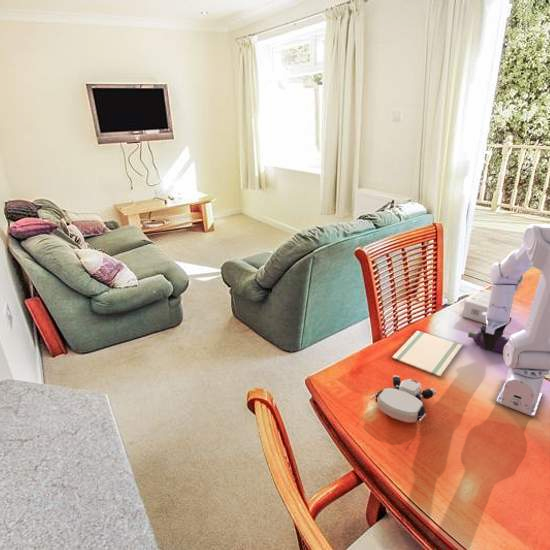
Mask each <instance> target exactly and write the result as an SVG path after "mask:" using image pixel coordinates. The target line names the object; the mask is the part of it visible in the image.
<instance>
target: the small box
mask: <svg viewBox="0 0 550 550" xmlns="http://www.w3.org/2000/svg"><path fill="white" fill-rule="evenodd" d="M490 293H491V290H489V289H485V288H478V289H477V290H476V291H475V292H474V293H473V294H471V295H470V296H468V298H467V299H466V300H465V301H464V304H463V305H464V306H463V312H462V317H463V318H466V319H468V320H472V321H476V322H479V323H481V324H484V325H487V323H486V318H485V317H483V316H482V313H483V312H487V309H488V304H489V299H490Z"/></svg>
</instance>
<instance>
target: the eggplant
mask: <svg viewBox="0 0 550 550" xmlns="http://www.w3.org/2000/svg"><path fill="white" fill-rule="evenodd" d="M467 338H471V339H472V340H473V343H475V344H476V345H477V346H480V347H483V348H484V339H483V335H482V333H481V331H480V330H477V331H475V332H471V331H469V332H468V335H467ZM509 339H510V338H508V337H505V336H503V335H502V336H501V337H500V338H499V339H498V341H497V343H496V345H495V347H494V349H493V351H495V352H498V353H501V354H503V350H504V346H505V345H506V343H507V342H508V341H509Z"/></svg>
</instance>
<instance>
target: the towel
mask: <svg viewBox="0 0 550 550" xmlns="http://www.w3.org/2000/svg"><path fill="white" fill-rule="evenodd" d="M462 347H463V344H460V343H457V342H454V341H450V340H448V339H445V338H442V337H439V336H436V335H432V334H430V333H427V332H424V331H421V330H416V331H415V332H414V333H413V334H412V335H411V337H409V338H408V339H407V340H406V342H405V343H404V344H402V346H401V347H400V348H399V349H398V350H397V351H396V352H395V353H394V354H393V356H392V357H391V358H392V359H393V360H396V361H398V362H400V363H403V364H406V365H409V366H411V367H414V368H416V369H418V370H422V371H424V372H427V373H429V374H431V375H434V376H437V377H440V378H441V376H442V375H443V373H445V371H446V369H447V368H448V367H449V365H450V363H451V362H452V361H453V360H454V359H455V357H456V355H457V354H458V353H459V351H460V350H461V349H462Z"/></svg>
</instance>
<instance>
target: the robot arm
mask: <svg viewBox="0 0 550 550" xmlns="http://www.w3.org/2000/svg"><path fill="white" fill-rule="evenodd" d="M522 243H523V244H522V245H521V247H520V248H519V249H514V250H512V251H511V252H510V253H509V254H508V255H507V257H505V259H503V260H502V261H501V262H499V263H498V262H494V263H493V264H492V266H491V268H490V275H489V276H490V281H491V289H490V291H491V293H490V299H489V304H488V309H487V312H483V313H482V316H483V317H485V318H486V323H487V324H486V325H481V326H480V328H479V331H481V333H482V335H483V339H484V347H483V348H484V349H485V350H487V351H491V352H493V351H494V350H493V349H494V347H495V345H496V343H497V341H498V339H499V338H500V337H501V336H502V337H503V335H504V331H505V329H506V327H507V326H508V325H509V324H510V323H511V321H512V319H513V318H512V317H511V313H512V308H513V304H514V298H515V294H516V292H517V291H518V290H519V287H520V285H521V284H522V282H523V279H524V275H525V274H526V273H527V272H528V271H529V270H530V269H531V268H532V267H533V268H535V269H537V270H539V271H541V273H540V277H539V280H538V283H537V287H536V290H535V292H534V296H533V300H532V302H531V304H530V308H529V312H528V314H527V318H526V321H525V324H524V327H523V329H522V330H520V331H518V332H515V333H513V334H511V335H510V336H509V338H508V339H509V341H508V342H507V343H506V345H505V346H504V350H503V353H502V355H503V357H502V358H503V362H504V364H505V365H506V367H507V368H508V369H507V373H506V377H505V381H504V384H503V386H502V388H501V390H500V392H499V394H498V396H497V397H496V403H498V404H499V405H503V406H505V407H507V408H510V409H512V410H515V411H517V412H520V413H523V414H525V415H527V416H530V417H535V416H536V413H537V410H538V407H539V404H540V401H541V400H542V399H541V398H542V394H543V393H542V392H541V390H542V386H543V383H544V379H545V376H549V375H550V224H537V223H531V224H529V225H528V226H527V227H526V229H525V230H524V233H523V237H522Z"/></svg>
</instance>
